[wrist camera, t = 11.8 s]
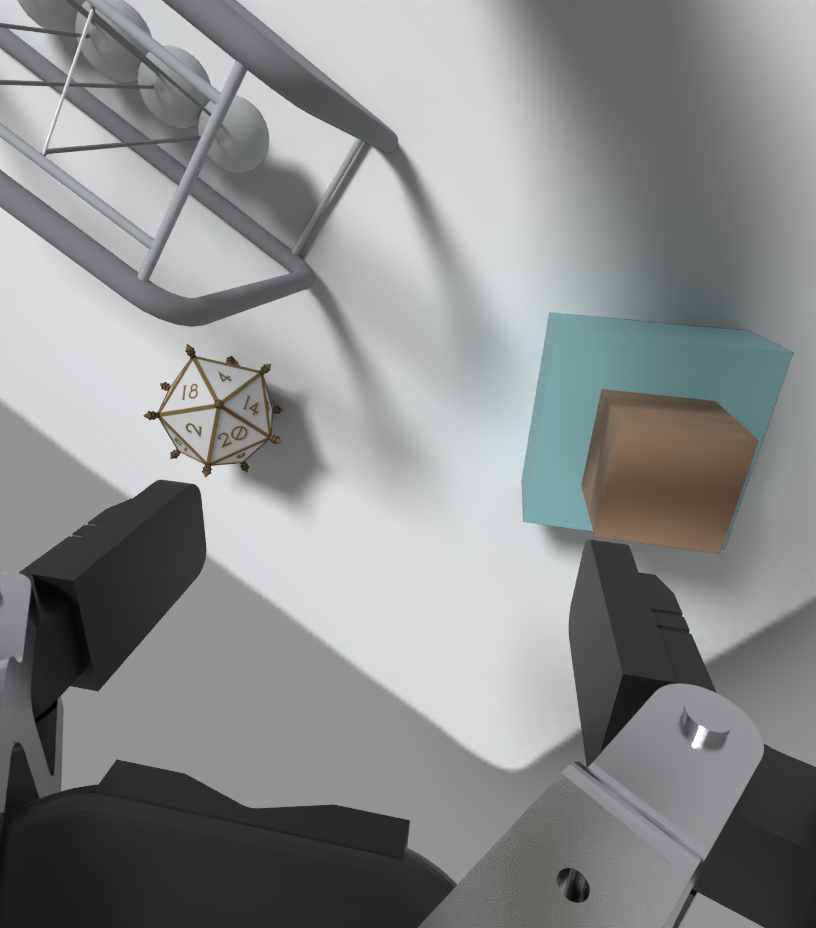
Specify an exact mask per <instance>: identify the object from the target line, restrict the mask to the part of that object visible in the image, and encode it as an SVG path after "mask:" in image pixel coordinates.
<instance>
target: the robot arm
mask: <svg viewBox="0 0 816 928" xmlns="http://www.w3.org/2000/svg"><path fill="white" fill-rule="evenodd" d="M205 558H206V539H205V530H204V520H203V510H202V500H201V493H200V490H199V488H198V487H197V486H196V485H195V484H189V483H182V482H175V481H167V480H157V481H156V482H154V483H153V484H151V485H150V486H149V487H147V488H146V489H145V490H143V491H142V492H141V493H139V494H138V495H137V496H135V497H134V498H133V499H129V500H127V501H125V502H122V503H120V504H118V505H115V506H112V507H110V508H108V509H106V510H104V511H103V512H102V513H100V514H99V515H98V516H96V517H95V518H94V519H92V520H91V521H89V522H88V525H84V526H82V527H81V528H80V529H78V530H77V531H75V532H74V533H73V535H72V537H67V538H66V539H64V540H63V541H62V542H60V543H59V544H58V545H56V546H55V547H53V548H52V549H51V550H49V551H48V552H47V553H45V554H44V555H42V556H41V557H40V558H39V559H37V560H36V561H34V562H33V563H31V564H30V565H29V566H27V567H26V568H25V569H23V570H22V571H20V572H19V573H16V572H0V928H680V927H681V925H682V923H683V921H684V919H685V917H686V915H687V914H688V912H689V910H690V908H691V906H692V904H693V902H694V901H695V899H696V897H697V895H698V893H700V894H702V895H704V896H706V897H708V898H710V899H712V900H714V901H716V902H718V903H719V904H721V905H724V906H725V907H727V908H729V909H731V910H732V911H734V912H736V913H738V914H740V915H742V916H744V917H746V918H747V919H749V920H751V921H753V922H755V923H757V924H759V925H761V926H763V927H764V928H816V767H814V766H812V765H809V764H807V763H804V762H802V761H799V760H797V759H795V758H792V757H790V756H787V755H785V754H783V753H781V752H778V751H776V750H774V749H772V748H771V747H769V746H767V745H765V744H763V739H762V737H761V734H760V732H759V730H758V728H757V727H756V725H755V724H754V722H752V720H751V719H750V718H749V717H748V715H747V714H746V713H745V712H743V711H742V710H741V709H740V708H739V707H738V706H736V705H735V704H734V703H732V702H731V701H729V700H728V699H726V698H724V697H723V696H721V695H719V694H717V693H716V691H715V688H714V686H713V684H712V681H711V679H710V677H709V675H708V672H707V670H706V667H705V665H704V663H703V660H702V658H701V656H700V653H699V651H698V649H697V646H696V644H695V642H694V639H693V637H692V635H691V634H689V628H688V625H687V623H686V621H685V618H684V617H682V611H681V609H680V607H679V604H678V602H677V600H676V597H675V595H674V593H673V592H672V591H671V590H670V589H669V588H668V587H667V586H666V585H665V584H664V583H663V582H662V581H661V580H660V579H659V578H658V577H657V576H656V575H653V574H646V573H639V572H638V570H637V567H636V564H635V561H634V558H633V556H632V553H631V550H630V548H629V546H628V545H625V544H617V543H610V542H603V541H596V540H587V541H586V543H585V546H584V549H583V553H582V558H581V562H580V567H579V571H578V575H577V580H576V584H575V589H574V593H573V598H572V602H571V607H570V614H569V640H570V648H571V655H572V662H573V670H574V677H575V684H576V692H577V699H578V706H579V714H580V721H581V728H582V736H583V743H584V750H585V757H586V765H587V768H586V767H585V766H584V765H583V764H581V763H580V762H574V763H572V764H571V765H570V766H568V767H567V768H566V769H565V770H564V771H563V772H562V773H561V774H560V775H559V776H558V777H557V778H556V779H555V780H554V781H553V783H552V784H551V785H550V786H549V787H548V788H547V789H546V790H545V791H544V792H543V793H542V794H541V795H540V797H539V798H538V799H537V800H536V801H535V802H534V803H533V804H532V805H531V806H530V807H529V808H528V809H527V810H526V812H525V813H524V814H523V815H522V816H521V817H520V818H519V819H518V820H517V821H516V822H515V823H514V824H513V826H512V827H511V828H510V829H509V830H508V831H507V832H506V833H505V834H504V835H503V836H502V837H501V838H500V839H499V841H498V842H497V843H496V844H495V845H494V846H493V847H492V848H491V849H490V850H489V852H487V854H486V855H485V856H484V857H483V858H482V859H481V860H480V861H479V862H478V863H477V864H476V865H475V867H473V869H472V870H471V871H470V872H469V873H468V874H467V875H466V876H465V877H464V878H463V879H462V880H461V882H460V883H459V884H458V885H457V884H456V883H455V882H454V881H453V880H452V879H451V878H450V877H449V876H448V875H447V874H445V873H444V872H443V871H442V870H441V869H440V868H439V867H437V866H435V864H433V863H432V862H430V861H429V860H427V859H426V858H425V857H423V856H422V855H420V854H418V853H416V852H414V851H412V850H411V849H409V848H407V843H408V833H409V824H410V820H405V819H401V818H396V817H391V816H386V815H381V814H377V813H372V812H366V811H362V810H357V809H352V808H347V807H343V806H338V805H318V806H299V807H279V808H249V807H245V806H243V805H241V804H239V803H238V802H236V801H234V800H232V799H230V798H229V797H227V796H225V795H223V794H221V793H219V792H218V791H216V790H214V789H212V788H210V787H208V786H206V785H205V784H203V783H201V782H199V781H197V780H195V779H194V778H192V777H190V776H188V775H186V774H183V773H179V772H174V771H169V770H164V769H160V768H155V767H150V766H145V765H140V764H136V763H131V762H126V761H121V760H116V761H115V763H114V764H113V766H112V767H111V768H110V770H109V771H108V772H107V774H106V775H105V777H104V778H103V780H102V781H101V782H100V783H99V785H91V786H84V787H78V788H73V789H69V790H66V791H62V792H61V780H62V748H63V746H62V745H63V715H64V711H63V710H64V709H63V703H62V699H61V695H62V694H63V693H64V692H65V691H66V689H67V688H68V687H69V686H73V687H79V688H83V689H89V690H94V691H99V690H100V689H101V688H102V686H103V685H104V684H105V683H106V682H107V681H108V679H109V678H110V677H111V676H112V675H113V674H114V672H115V671H116V670H117V669H118V668H119V667H120V666H121V664H122V663H123V662H124V661H125V660H126V659H127V658H128V656H129V655H130V654H131V653H132V652H133V651H134V649H135V648H136V647H137V646H138V645H139V644H140V643H141V641H142V640H143V639H144V638H145V637H146V636H147V634H148V633H149V632H150V631H151V630H152V629H153V628H154V626H155V625H156V624H157V623H158V622H159V620H161V618H162V617H163V616H164V615H165V614H166V612H167V611H168V610H169V609H170V608H171V607H172V606H173V605H174V603H175V602H176V601H177V600H178V599H179V598H180V596H181V595H182V594H183V593H184V592H185V591H186V590H187V588H188V587H189V586H190V585H191V584H192V582H193V581H194V580H195V579H196V578H197V577H198V575H199V574H200V572H201V570H202V568H203V565H204V562H205Z"/></svg>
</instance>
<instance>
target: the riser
mask: <svg viewBox="0 0 816 928" xmlns="http://www.w3.org/2000/svg"><path fill="white" fill-rule="evenodd" d="M792 355H793V352H792V351H790V350H788V349H786V348H784V347H782V346H780V345H777V344H775V343H773V342H771V341H769V340H767V339H765V338H763V337H761V336H759V335H757V334H755V333H752V332H750V331H745V330H734V329H724V328H713V327H702V326H691V325H680V324H669V323H658V322H647V321H637V320H626V319H615V318H604V317H593V316H582V315H571V314H561V313H550V312H549V318H548V324H547V330H546V336H545V343H544V349H543V355H542V361H541V367H540V373H539V379H538V385H537V391H536V397H535V403H534V409H533V415H532V421H531V427H530V433H529V439H528V445H527V451H526V457H525V463H524V470H523V476H522V506H523V522H528V523H536V524H543V525H550V526H557V527H564V528H572V529H579V530H586V531H593V529H592V525H591V522H590V518H589V514H588V510H587V506H586V502H585V498H584V494H583V491H582V487H581V484H582V479H583V474H584V469H585V465H586V460H587V455H588V451H589V446H590V441H591V437H592V432H593V427H594V422H595V418H596V413H597V408H598V404H599V399H600V394H601V389H607V390H617V391H626V392H636V393H645V394H654V395H664V396H673V397H683V398H692V399H702V400H711V401H716V402H717V403H718V404H719V405H720V406H721V407H722V408H724V409H725V410H726V411H727V412H728V413H729V414H730V415H731V416H732V417H734V418H735V419H736V420H737V421H738V422H739V423H740V424H741V425H742V426H743V427H745V428H746V429H747V430H748V431H749V432H750V433H751V434H752V435H753V436H755V437H756V438H757V439H758V440H759V442H758V445H757V448H756V451H755V454H754V457H753V460H752V463H751V466H750V468H749V471H748V474H747V477H746V480H745V483H744V486H743V489H742V492H741V494H740V497H739V500H738V503H737V506H736V509H735V512H734V515H733V518H732V520H731V523H730V526H729V529H728V532H727V535H726V538H725V541H724V544H723V547H722V549H723V550H724V549H725V546H726V543H727V541H728V538H729V535H730V532H731V529H732V526H733V523H734V521H735V518H736V515H737V512H738V509H739V506H740V503H741V501H742V498H743V495H744V492H745V489H746V486H747V483H748V481H749V478H750V475H751V472H752V469H753V466H754V463H755V461H756V458H757V455H758V452H759V449H760V446H761V443H762V441H763V438H764V435H765V432H766V429H767V426H768V424H769V421H770V418H771V415H772V412H773V409H774V406H775V404H776V401H777V398H778V395H779V392H780V389H781V386H782V384H783V381H784V378H785V375H786V372H787V369H788V366H789V364H790V361H791V358H792Z"/></svg>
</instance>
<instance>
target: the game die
mask: <svg viewBox="0 0 816 928" xmlns="http://www.w3.org/2000/svg"><path fill="white" fill-rule="evenodd" d="M185 352H187V355H189V356H190V360H189V361H188V363H187V364H186V366H185V367H184V368H183V370H182V371H181V373H180V374H179V375H178V377H177V378H176V380H175V381H174V382H173V384H172V385H171V386H170V385H169V383H168V384H167V382H165V383H161V384H160V385H161V387H162V389H164V390H165V391H168V392H167V394H166V396H165V398H164V400H163V403H162V405H161V407H160V409H159V411H158V412H157V413H156V412H154V411H152V412H150V411H148V413H146V414H145V415H144V417H146V418H148V419H149V420H151V419H153V420H155V419H156V418H159V420H160V421H161V423H162V425H163V426H164V428H165V430H166V431H167V433H168V435H169V437H170V438H171V440H172V442H173V443H174V445H175V447H176V448H177V449H176V450H173V452H171V457H170V459H173V458H176V459H177V457H178V456H179V455H180V453H183V454H185V455H187V456H189V457H191V458H193V459H195V460H197V461H199V462H201V463H203V464H205V467H204V468H203V471H202V472H203V474H204V476H205V477H207V476H208V475H209V474H211V470H212V469H211V466H214V465H225V464H236V463H240V464H241V467H242V470H244V471H246V472H248V468H249V466H248V464H247V463H246V462H245V461H246V460H247V459H248V458H249V457H250V456H251V455H252V454H253V453H255V452H256V451H257V450H258V449H259V448H260V447H261V446H262V445H263V444H265V443H266V442H267V441H268V440H271V442H272V443H274V444H277V443H282V442H281V441H280V439H279V437H276V436H275V435H273V436H272V435H271V433H272V418H273V413H275V414H277V413H278V414H279V413H280V412H281V411H282V409H281V408H279V406H277V407H276V406H275V407H274V408H272V405H271V401H270V397H269V394H268V390H267V386H266V383H265V379H264V374H265V373H268V371H270V367H271V364H266V365H265V364H264V366H263V367H261V370H260V371H258V370H253V369H249V368H245V367H240V366H236V365H233V364H234V361H235V360H234V359H233V357H232V356H230V357H229V358H227V361H226V362H227V363H223V362H219V361H214V360H210V359H206V358H201V357H197V356H196V355H195V351H194V348H192V347H191V346H189V345H188V344H187V347H186V351H185Z"/></svg>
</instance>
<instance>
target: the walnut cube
mask: <svg viewBox="0 0 816 928" xmlns="http://www.w3.org/2000/svg"><path fill="white" fill-rule="evenodd" d="M758 442H759V440H758V439H757V438H756V437H755V436H753V435H752V434H751V433H750V432H749V431H748V430H747V429H746V428H745V427H743V426H742V425H741V424H740V423H739V422H738V421H737V420H736V419H735V418H734V417H732V416H731V415H730V414H729V413H728V412H727V411H726V410H725V409H724V408H722V407H721V406H720V405H719V404H718V403H717V402H716V401H711V400H702V399H692V398H683V397H673V396H664V395H654V394H645V393H636V392H626V391H617V390H607V389H601V394H600V399H599V404H598V408H597V413H596V418H595V422H594V427H593V432H592V437H591V441H590V446H589V451H588V455H587V460H586V465H585V469H584V474H583V479H582V484H581V487H582V491H583V494H584V498H585V502H586V506H587V510H588V514H589V518H590V522H591V525H592V529H593V533H594V537H601V538H608V539H615V540H622V541H630V542H637V543H644V544H651V545H659V546H666V547H673V548H680V549H687V550H695V551H702V552H709V553H716V554H720V552H721V549H722V547H723V544H724V541H725V538H726V535H727V532H728V529H729V526H730V523H731V520H732V518H733V515H734V512H735V509H736V506H737V503H738V500H739V497H740V494H741V492H742V489H743V486H744V483H745V480H746V477H747V474H748V471H749V468H750V466H751V463H752V460H753V457H754V454H755V451H756V448H757V445H758Z"/></svg>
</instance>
